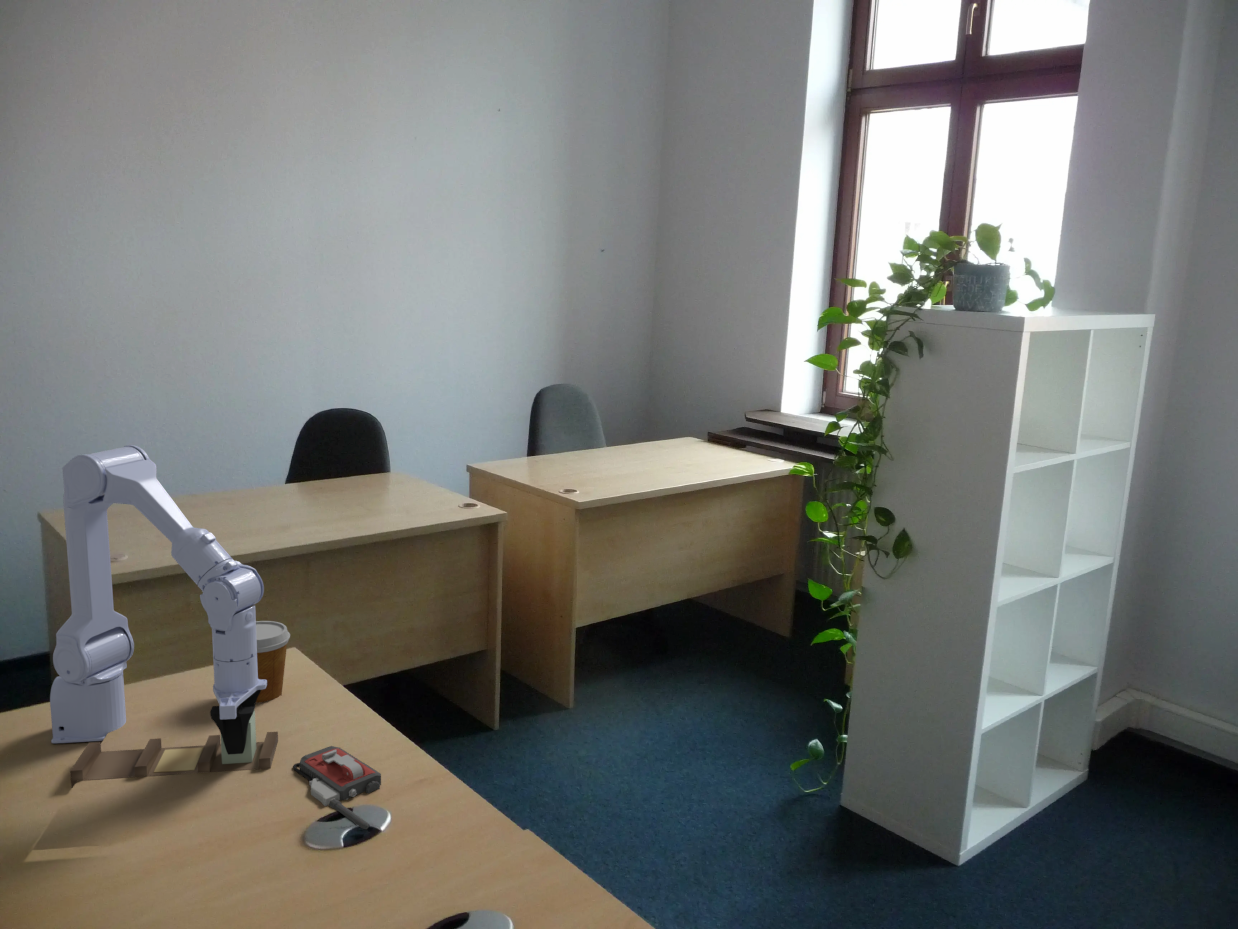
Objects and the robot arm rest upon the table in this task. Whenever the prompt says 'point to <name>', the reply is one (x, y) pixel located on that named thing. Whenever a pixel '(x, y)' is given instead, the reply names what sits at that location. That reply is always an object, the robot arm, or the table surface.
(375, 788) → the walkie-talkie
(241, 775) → the table surface
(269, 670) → the disposable coffee cup
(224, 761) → the sage block
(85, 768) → the notch rail
